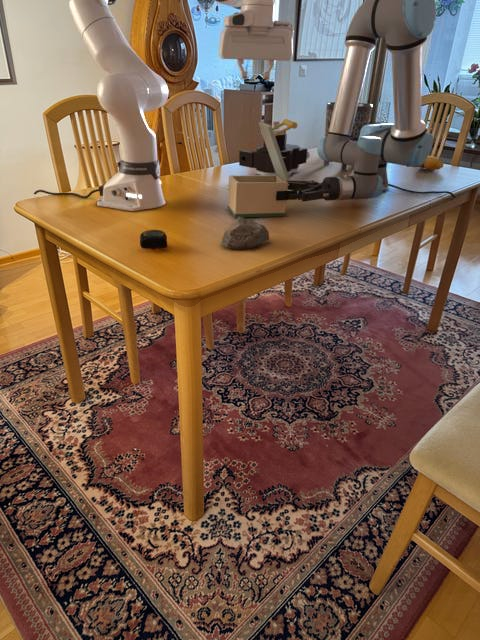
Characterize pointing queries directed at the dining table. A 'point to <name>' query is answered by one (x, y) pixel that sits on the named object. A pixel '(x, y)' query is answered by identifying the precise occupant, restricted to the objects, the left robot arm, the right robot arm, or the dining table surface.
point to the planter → (359, 121)
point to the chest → (256, 195)
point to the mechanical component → (263, 161)
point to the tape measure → (153, 239)
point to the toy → (432, 164)
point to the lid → (276, 145)
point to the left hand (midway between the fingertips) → (254, 78)
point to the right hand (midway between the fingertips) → (271, 191)
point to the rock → (245, 234)
